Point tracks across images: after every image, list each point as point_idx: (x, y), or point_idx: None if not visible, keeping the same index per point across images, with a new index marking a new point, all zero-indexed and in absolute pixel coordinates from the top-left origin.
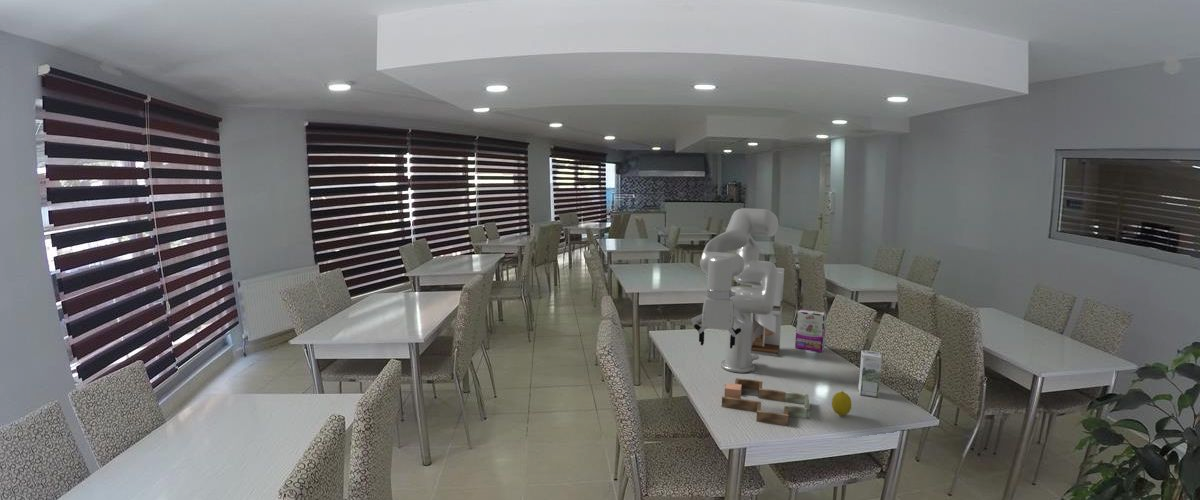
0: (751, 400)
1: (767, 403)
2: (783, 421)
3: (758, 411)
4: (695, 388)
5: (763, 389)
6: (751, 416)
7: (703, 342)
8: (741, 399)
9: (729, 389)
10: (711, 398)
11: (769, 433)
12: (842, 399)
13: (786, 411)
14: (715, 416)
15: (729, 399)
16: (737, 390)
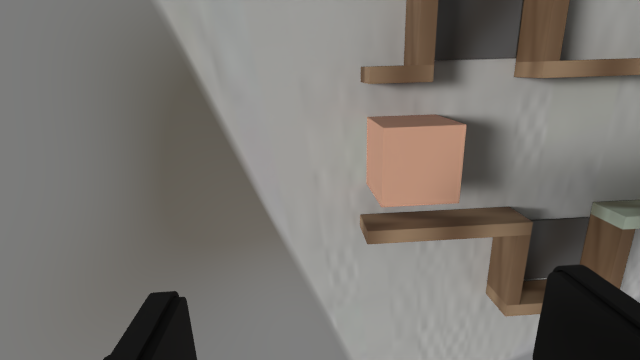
0: (493, 225)
1: (546, 123)
2: None
3: (511, 312)
4: (212, 68)
5: (565, 70)
6: (471, 265)
7: (187, 357)
8: (451, 230)
9: (403, 204)
10: (309, 161)
11: (518, 354)
12: None
13: (617, 275)
14: (346, 310)
15: (399, 240)
16: (442, 203)
